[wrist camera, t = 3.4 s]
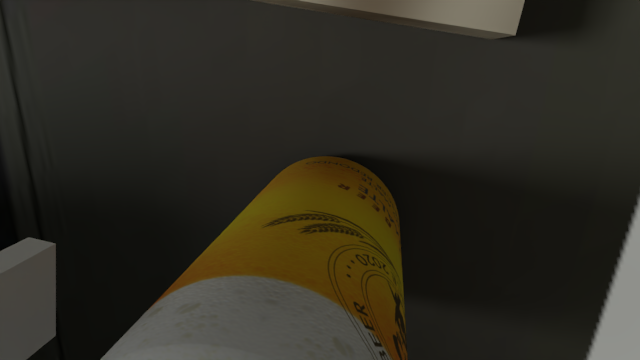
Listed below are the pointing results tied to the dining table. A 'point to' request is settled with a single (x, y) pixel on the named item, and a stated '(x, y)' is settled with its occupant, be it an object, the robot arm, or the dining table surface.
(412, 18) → the socket board
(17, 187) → the dining table surface
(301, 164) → the beer can
